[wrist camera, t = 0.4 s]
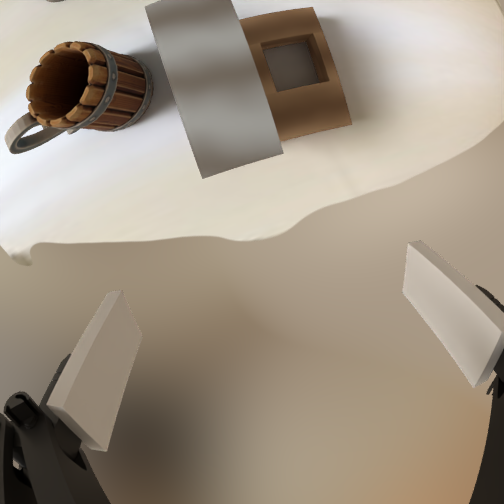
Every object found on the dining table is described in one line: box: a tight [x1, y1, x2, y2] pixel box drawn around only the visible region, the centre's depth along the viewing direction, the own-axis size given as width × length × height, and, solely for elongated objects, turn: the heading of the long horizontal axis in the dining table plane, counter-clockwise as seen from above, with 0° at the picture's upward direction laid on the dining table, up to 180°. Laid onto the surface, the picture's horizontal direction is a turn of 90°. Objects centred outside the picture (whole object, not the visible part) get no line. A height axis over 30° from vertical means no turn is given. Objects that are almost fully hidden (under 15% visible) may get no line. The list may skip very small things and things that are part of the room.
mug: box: [5, 41, 153, 154], centre depth 24 cm, size 16×11×15 cm
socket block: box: [145, 0, 352, 179], centre depth 25 cm, size 16×17×15 cm
